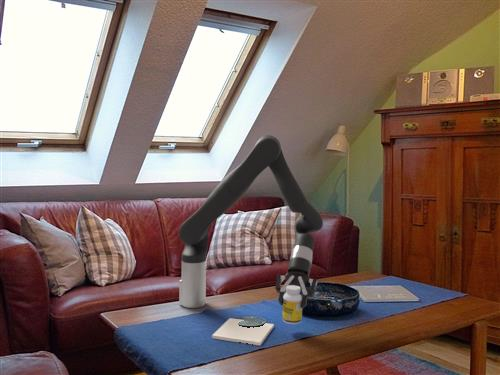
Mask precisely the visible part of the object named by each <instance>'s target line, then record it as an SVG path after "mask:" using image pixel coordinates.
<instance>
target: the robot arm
mask: <svg viewBox="0 0 500 375" xmlns="http://www.w3.org/2000/svg"><path fill="white" fill-rule="evenodd" d="M281 146H282V144H281V143H280V140H279V139H278V138H277V137H275V136H273V135H270V134H269V135H268V134H267V135H266V134H265V135H263V136H261V137H260V138H259V139H258V140H257V141H256V143H255V145H254V147H253V148H252V149H251V151H250V152H249V153H248V155H247V156H246V158H245V159H244V160H243V161H242V162H241V163H240V164H239V165H237V167H235V168H234V169H233V170H231V171H230V172H229V173H228V174H227V175H226V176H224V178H223V179H222V180H221V181H220V182H219V184H217V186H216V187H215V188H214V189H213V190H212V192H211V193H210V194H209V195H208V196H207V198H206V199H205V200H204V202H203V203H201V206H200V207H199V208H198V209H197V210H196V211H195V212H194V213H193V214H192V215H190V216H189V217H188V218H187V219H186V220H185V221H184V222H182V223H181V225H180V226H179V229H178V238H179V240H180V242H182V243H183V244H184V249H183V250H182V253H181V279H180V280H179V282H178V284H179V295H178V297H179V298H178V300H179V304H178V305H179V306H182V307H184V308H189V309H197V308H198V309H199V308H201V307H204V306H206V301H207V299H206V297H207V296H206V295H207V294H206V292H207V290H206V289H207V288H206V286H207V285H206V284H207V280H206V279H207V276H206V275H207V254H208V251H209V250H208V249H209V228H210V226H211V225H212V224H214V222H215V221H217V219H218V218H220V217H221V216H222V215H224V214H225V213H226V212H227V211H229V210H230V209H231V208H232V207H233V206H234V205H236V203H237V202H238V201H239V200H240V199H241V198H242V197H243V196H244V195H245V193H246V192H247V191H248V190H249V188H250V187H251V186H252V184H253V183H254V181H255V180H256V179H257V177H258V176H259V175H261V173H263V172H264V170H266V169H267V168H269V169H270V171H271V173H272V174H273V176H274V178H275V181H276V183H277V187H278V189H279V191H280V194H281V195H282V197H283V199H284V201H285V202H286V204H287V206H288V208H289V210H290V212H292V213H295V214H296V213H297V214H301V215H299V216H298V217H297V218H296V219H295V220H294V223H293V229H294V244H293V249H292V251H291V254H290V258H289V263H288V268H287V271H286V274H285V275H284V274H283V275H281V274H280V273H277V275H276V279H275V280H276V282H275V287H274V288H275V291H276V293H277V294H279V295H278V304H279V305H280V306H283V296H284V294H285V293H287V291H286V287H287V286H289V285H296V286H299V287H300V290H301V292H302V294H303V295H302V302H301V308H302V309H304V308H305V307H306V306H307V303H308V302H307V301H308V298H314V296H315V293H316V289H317V287H318V286H317V285H318V281H317V278H310V273H311V268H312V263H313V253H314V249H315V242H316V241H315V238H314V236H312V234H311V233H315V232H318V231H320V230H321V229H322V228H323V227H324V226H323V225H324V221H323V218H322V216H321V214H320V212H318V211H317V209H316V208H315V207H314V206H313V205H312V204H311V203H310V202H309V200H307V198H306V196H305V194H304V192H303V191H302V188H301V187H300V185H299V183H298V182H297V180H296V178H295V177H294V175H293V173H292V171H291V168H290V167H289V164H288V163H287V161H286V159H285V157H284V156H285V155H284V153H283V151H282V147H281ZM284 280H285V283H284V284H283V286H282V283H283V282H284ZM309 283H310V289H309V291H307V288H306V286H307V285H308V284H309ZM281 286H282V287H281Z"/></svg>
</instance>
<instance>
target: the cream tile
mask: <svg viewBox="0 0 500 375" xmlns="http://www.w3.org/2000/svg"><path fill="white" fill-rule="evenodd" d="M244 320H245V319H240V318H239V319H237V318H231V317H230V318H228V319H227V320H226V321H225V322H224V323H223V324H222V325H221V326H220V327H219V328H218V329H217V330H216V331H215V332H214V333H213V334H212V335H211V338H212V339H213V340H221V341H226V342H227V341H228V342H233V343H239V342H241V343H240V344H246V343H248V345H252V344H253V346H261V345H262V344H263V343H264V341H265V340H266V338H267V337H268V335H270V333H271V331H272V330H273V329H274V327H275V324H274V323H267V322H264V323H265V324H264V325H263V326H260V327H254V328H253V327H250V328H247V327H242V326H239V325H238V323H239V322H241V321H244Z"/></svg>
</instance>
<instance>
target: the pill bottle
mask: <svg viewBox="0 0 500 375" xmlns="http://www.w3.org/2000/svg"><path fill="white" fill-rule="evenodd" d="M286 291H287V292H286V293H285V294H284V296H283V305H282V315H281V316H282V318H281V319H282V321H283V322H284V323H285V324H288V325H298V324H300V323H302V319H303V308H301V302H302V296H303V295H302V293H301V289H300V287H299V286H296V285H289V286H287V287H286ZM300 293H301V294H300Z"/></svg>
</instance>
